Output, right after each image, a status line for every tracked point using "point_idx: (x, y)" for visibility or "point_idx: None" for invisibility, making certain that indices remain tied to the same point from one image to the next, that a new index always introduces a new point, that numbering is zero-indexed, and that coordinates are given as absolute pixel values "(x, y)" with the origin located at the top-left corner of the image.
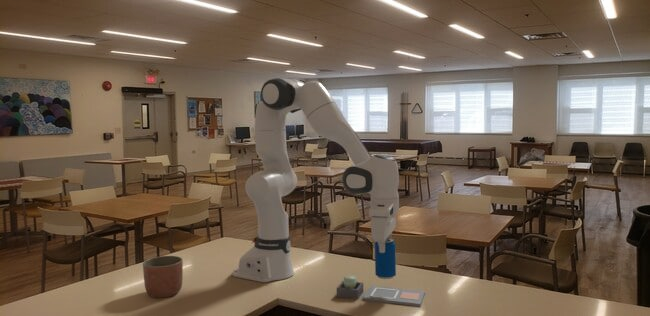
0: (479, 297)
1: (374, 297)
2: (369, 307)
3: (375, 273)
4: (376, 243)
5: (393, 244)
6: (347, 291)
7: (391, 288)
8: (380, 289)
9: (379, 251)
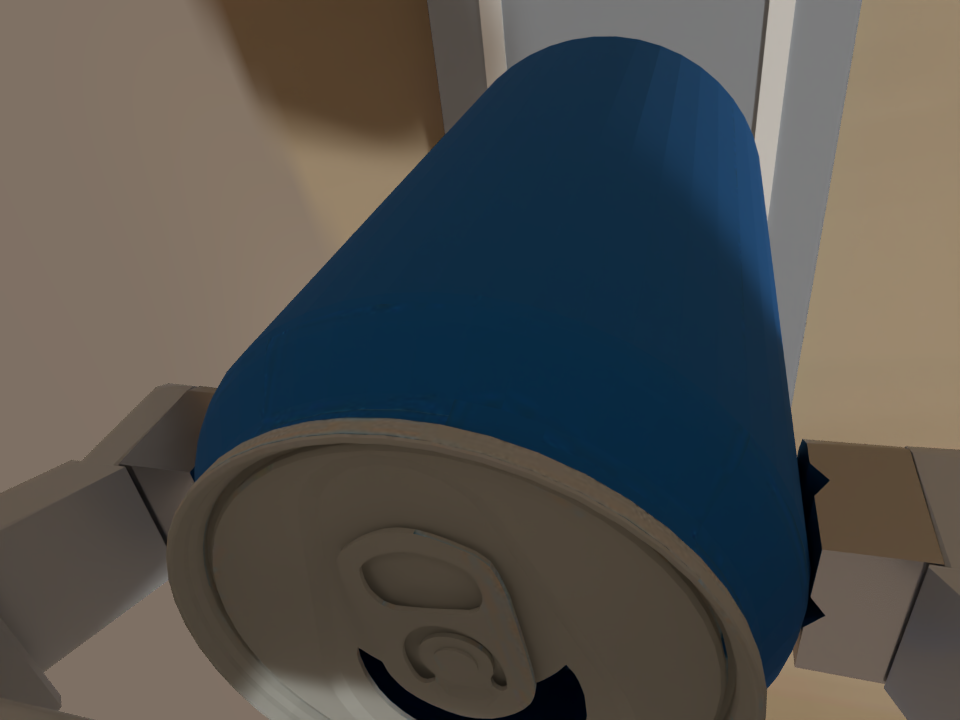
0: (779, 694)
1: (466, 14)
2: (279, 16)
3: (541, 51)
4: (233, 397)
5: (414, 713)
6: None
7: (812, 137)
8: (747, 10)
9: (156, 393)
